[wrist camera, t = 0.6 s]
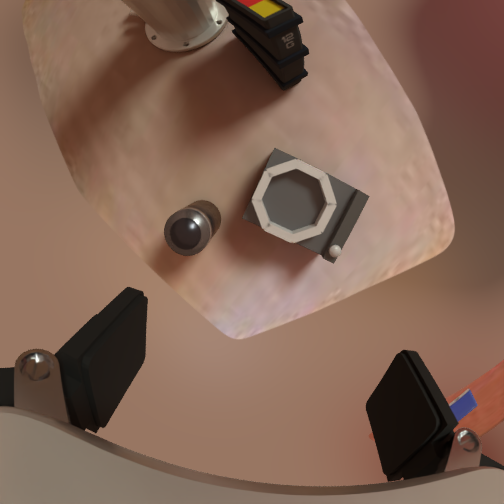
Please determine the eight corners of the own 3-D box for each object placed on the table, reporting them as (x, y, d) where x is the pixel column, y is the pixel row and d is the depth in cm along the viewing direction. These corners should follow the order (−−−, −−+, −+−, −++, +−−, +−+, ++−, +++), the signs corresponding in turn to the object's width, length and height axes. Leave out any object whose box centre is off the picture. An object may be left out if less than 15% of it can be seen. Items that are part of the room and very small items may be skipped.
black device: (296, 109, 31) (262, 24, 17) (246, 57, 34) (203, -13, 20) (320, 95, 30) (299, 7, 16) (266, 45, 33) (230, -27, 19)
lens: (179, 228, 39) (157, 245, 31) (192, 193, 37) (171, 203, 29) (212, 243, 39) (198, 264, 31) (227, 209, 38) (215, 222, 30)
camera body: (245, 210, 37) (240, 221, 31) (274, 149, 35) (274, 147, 28) (324, 247, 38) (334, 265, 32) (354, 190, 35) (371, 196, 29)
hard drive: (478, 405, 48) (470, 390, 46) (455, 423, 50) (445, 410, 48) (475, 401, 49) (467, 386, 47) (453, 419, 51) (443, 406, 49)
